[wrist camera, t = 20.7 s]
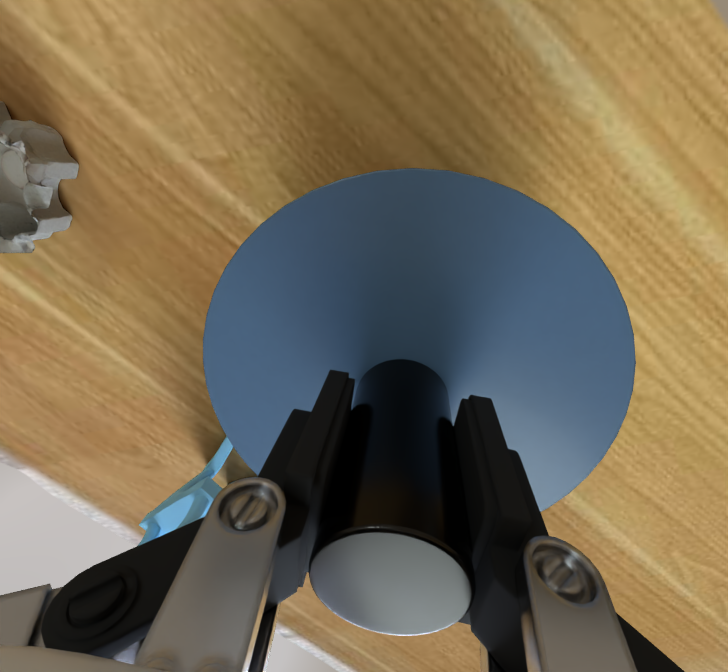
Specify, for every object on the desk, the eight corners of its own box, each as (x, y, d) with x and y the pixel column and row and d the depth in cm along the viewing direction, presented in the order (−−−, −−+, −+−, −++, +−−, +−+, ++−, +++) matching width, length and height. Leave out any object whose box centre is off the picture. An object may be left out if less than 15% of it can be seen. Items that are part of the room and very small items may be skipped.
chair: (185, 448, 30) (54, 604, 19) (253, 402, 27) (144, 555, 16) (250, 507, 32) (164, 679, 21) (319, 470, 29) (262, 648, 18)
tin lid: (208, 137, 10) (-127, 80, 4) (705, 206, 10) (1306, 276, 3) (225, 483, 16) (99, 686, 10) (535, 547, 15) (622, 818, 9)
